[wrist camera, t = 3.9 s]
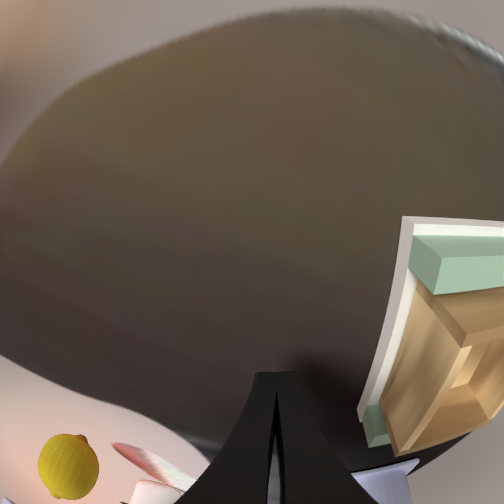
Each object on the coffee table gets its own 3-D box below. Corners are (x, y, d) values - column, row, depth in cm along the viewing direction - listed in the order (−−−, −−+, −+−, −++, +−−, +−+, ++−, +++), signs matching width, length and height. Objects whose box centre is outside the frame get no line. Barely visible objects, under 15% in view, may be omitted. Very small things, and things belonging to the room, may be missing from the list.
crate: (466, 380, 11) (489, 422, 8) (378, 401, 11) (394, 456, 8) (512, 270, 8) (557, 307, 5) (418, 277, 9) (466, 334, 6)
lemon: (62, 410, 16) (25, 476, 9) (115, 445, 17) (88, 515, 10) (57, 426, 18) (27, 480, 11) (102, 455, 19) (79, 512, 12)
